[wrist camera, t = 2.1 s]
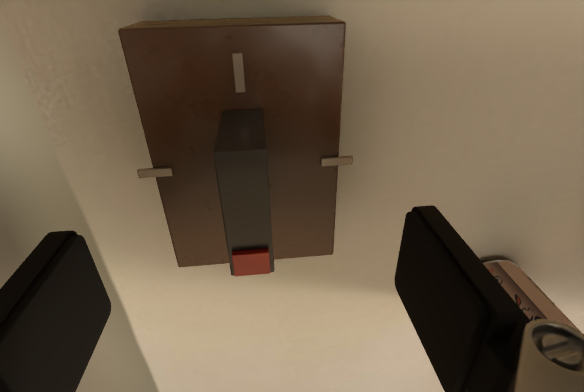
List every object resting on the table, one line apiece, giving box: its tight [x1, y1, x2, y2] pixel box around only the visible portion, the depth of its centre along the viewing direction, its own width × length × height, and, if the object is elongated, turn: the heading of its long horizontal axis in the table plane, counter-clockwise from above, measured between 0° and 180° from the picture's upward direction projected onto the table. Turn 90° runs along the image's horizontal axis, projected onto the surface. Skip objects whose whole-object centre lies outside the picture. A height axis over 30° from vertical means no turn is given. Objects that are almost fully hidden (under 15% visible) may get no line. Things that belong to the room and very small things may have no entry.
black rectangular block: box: [213, 109, 274, 276], centre depth 13 cm, size 5×2×4 cm, turn 1°
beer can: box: [483, 260, 581, 332], centre depth 20 cm, size 5×5×12 cm
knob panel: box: [118, 16, 353, 267], centre depth 16 cm, size 11×9×3 cm
